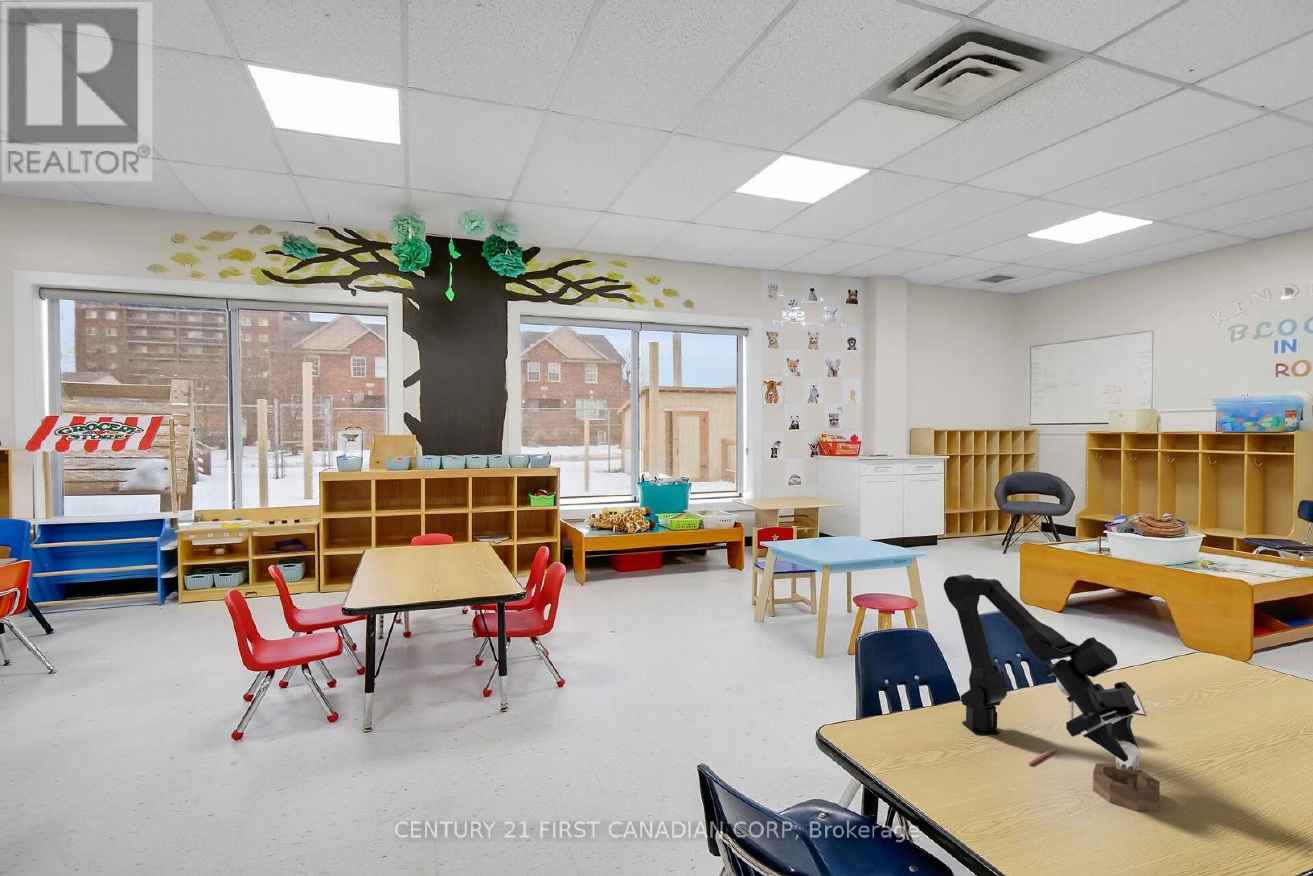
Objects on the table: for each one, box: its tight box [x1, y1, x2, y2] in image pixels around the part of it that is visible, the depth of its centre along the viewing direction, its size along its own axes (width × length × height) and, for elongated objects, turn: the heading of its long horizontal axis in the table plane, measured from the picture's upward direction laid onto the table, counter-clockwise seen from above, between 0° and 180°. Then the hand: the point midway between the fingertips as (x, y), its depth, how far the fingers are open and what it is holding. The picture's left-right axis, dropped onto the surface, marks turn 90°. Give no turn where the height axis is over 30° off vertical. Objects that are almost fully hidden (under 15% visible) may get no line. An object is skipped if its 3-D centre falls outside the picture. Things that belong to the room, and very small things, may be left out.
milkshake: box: [1114, 741, 1142, 787], centre depth 134 cm, size 4×5×10 cm
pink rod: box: [1027, 747, 1057, 766], centre depth 150 cm, size 13×1×1 cm, turn 125°
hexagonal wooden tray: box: [1092, 762, 1161, 812], centre depth 134 cm, size 11×11×4 cm
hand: (1132, 758), depth 133 cm, fingers closed on milkshake, 4 cm apart
